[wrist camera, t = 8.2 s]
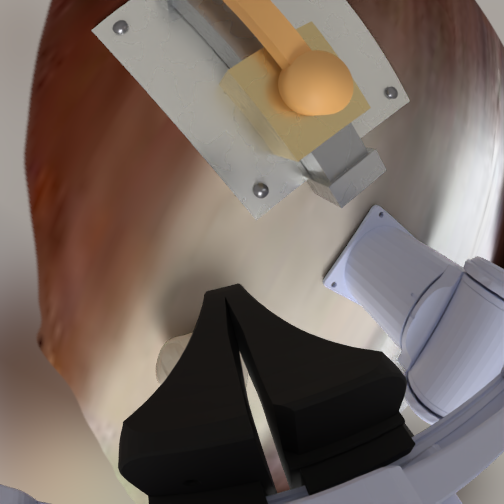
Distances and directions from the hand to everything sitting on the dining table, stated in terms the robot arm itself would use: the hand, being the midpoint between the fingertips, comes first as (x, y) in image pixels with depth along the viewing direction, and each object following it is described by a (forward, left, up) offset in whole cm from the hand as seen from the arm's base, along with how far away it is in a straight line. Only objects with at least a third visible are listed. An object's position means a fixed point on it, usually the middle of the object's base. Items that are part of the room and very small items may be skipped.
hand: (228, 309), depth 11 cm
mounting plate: (+3, -13, -10) cm, 17 cm away
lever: (+5, -12, -5) cm, 14 cm away
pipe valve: (+3, -11, -10) cm, 15 cm away
